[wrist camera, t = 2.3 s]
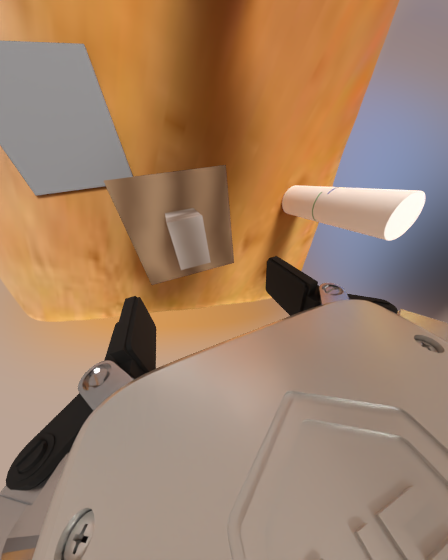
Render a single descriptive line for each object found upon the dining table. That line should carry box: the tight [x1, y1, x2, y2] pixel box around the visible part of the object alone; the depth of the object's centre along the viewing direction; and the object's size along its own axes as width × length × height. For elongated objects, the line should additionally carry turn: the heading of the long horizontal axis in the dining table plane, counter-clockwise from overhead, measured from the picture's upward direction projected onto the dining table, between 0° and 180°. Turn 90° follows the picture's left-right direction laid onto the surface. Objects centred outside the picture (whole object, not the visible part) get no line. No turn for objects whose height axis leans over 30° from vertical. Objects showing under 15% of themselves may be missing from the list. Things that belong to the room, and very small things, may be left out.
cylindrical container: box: [282, 185, 425, 241], centre depth 34 cm, size 7×7×25 cm
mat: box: [0, 41, 133, 195], centre depth 24 cm, size 16×16×1 cm
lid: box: [104, 165, 234, 285], centre depth 22 cm, size 15×15×7 cm
